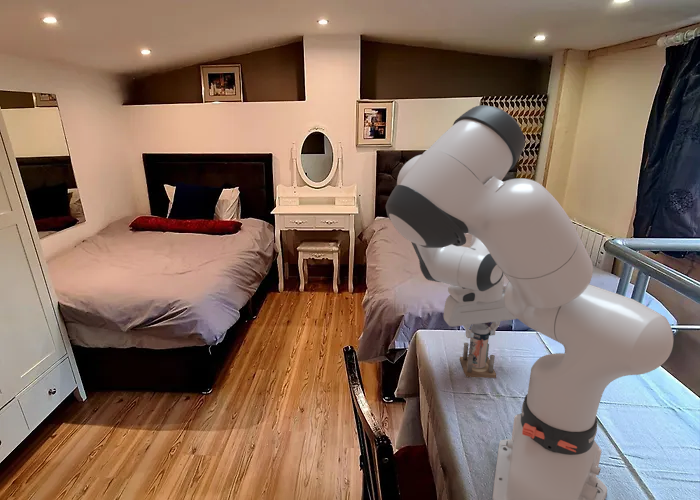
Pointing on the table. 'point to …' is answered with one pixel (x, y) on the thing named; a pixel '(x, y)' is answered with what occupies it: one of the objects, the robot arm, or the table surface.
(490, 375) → the holder
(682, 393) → the table surface
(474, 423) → the table surface
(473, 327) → the beer can
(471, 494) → the table surface
